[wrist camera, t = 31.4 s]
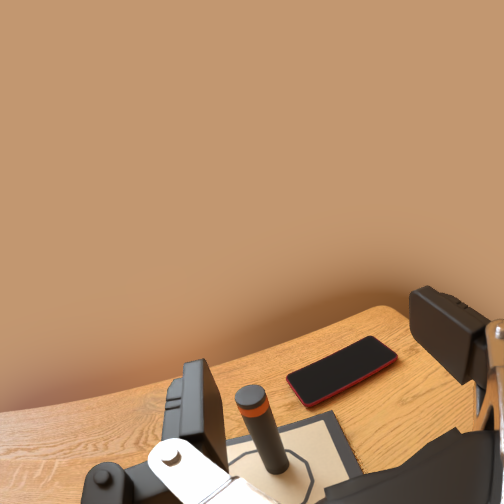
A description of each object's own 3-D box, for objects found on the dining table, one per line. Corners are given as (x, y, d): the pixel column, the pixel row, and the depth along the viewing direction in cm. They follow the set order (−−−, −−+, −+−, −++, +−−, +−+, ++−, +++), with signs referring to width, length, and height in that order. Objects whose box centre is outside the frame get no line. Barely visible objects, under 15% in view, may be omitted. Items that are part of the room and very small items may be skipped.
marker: (286, 453, 30) (262, 380, 26) (292, 471, 27) (267, 400, 23) (263, 459, 29) (233, 388, 26) (267, 477, 27) (235, 408, 23)
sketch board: (332, 412, 34) (331, 408, 34) (381, 514, 19) (382, 512, 19) (178, 451, 33) (175, 447, 33) (176, 558, 18) (173, 556, 18)
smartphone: (283, 375, 42) (370, 333, 46) (285, 380, 43) (371, 338, 46) (305, 406, 36) (400, 355, 39) (306, 411, 36) (400, 360, 39)
